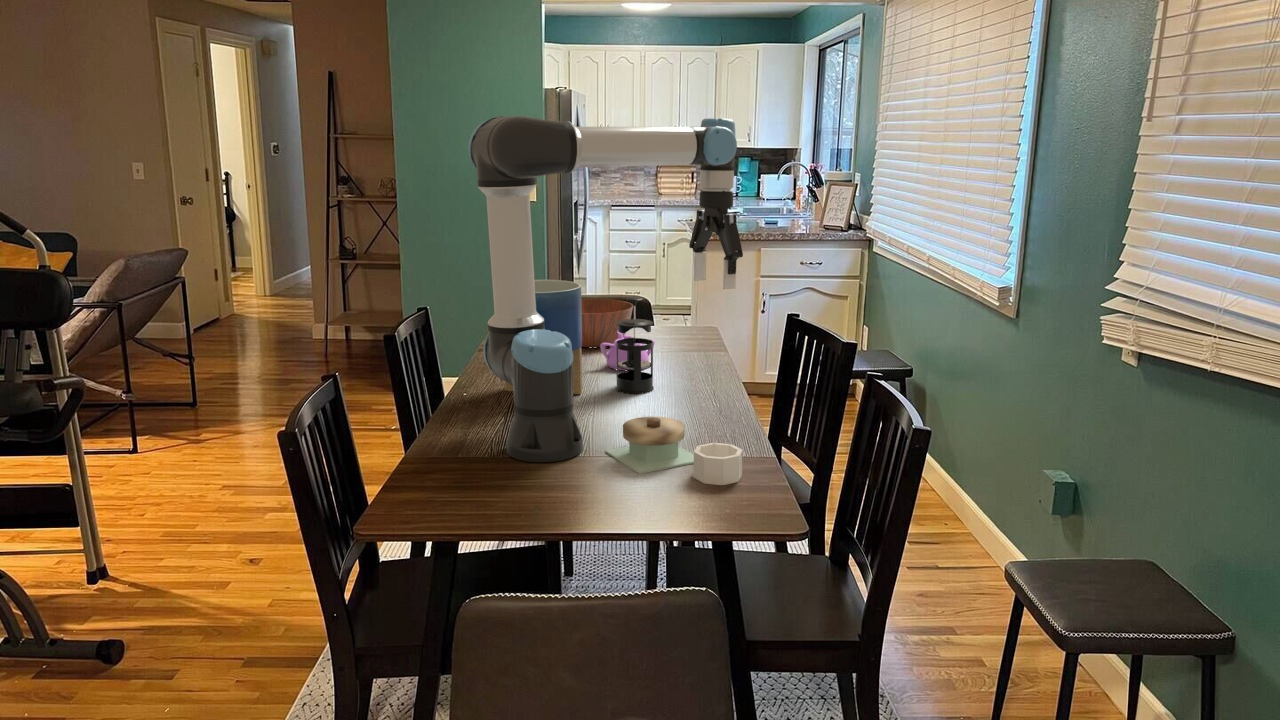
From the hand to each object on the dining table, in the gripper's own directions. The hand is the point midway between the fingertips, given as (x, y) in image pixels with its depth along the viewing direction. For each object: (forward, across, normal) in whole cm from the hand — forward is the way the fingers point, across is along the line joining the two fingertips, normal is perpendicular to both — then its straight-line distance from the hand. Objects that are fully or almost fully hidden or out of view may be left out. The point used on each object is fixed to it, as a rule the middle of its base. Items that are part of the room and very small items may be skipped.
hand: (714, 284), depth 211 cm
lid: (+24, -28, +29) cm, 47 cm away
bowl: (+28, +72, +1) cm, 77 cm away
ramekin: (+28, -43, +22) cm, 56 cm away
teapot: (+28, +40, +4) cm, 49 cm away
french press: (+28, +19, +11) cm, 36 cm away
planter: (+29, +26, +33) cm, 50 cm away
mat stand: (+28, -28, +29) cm, 49 cm away
